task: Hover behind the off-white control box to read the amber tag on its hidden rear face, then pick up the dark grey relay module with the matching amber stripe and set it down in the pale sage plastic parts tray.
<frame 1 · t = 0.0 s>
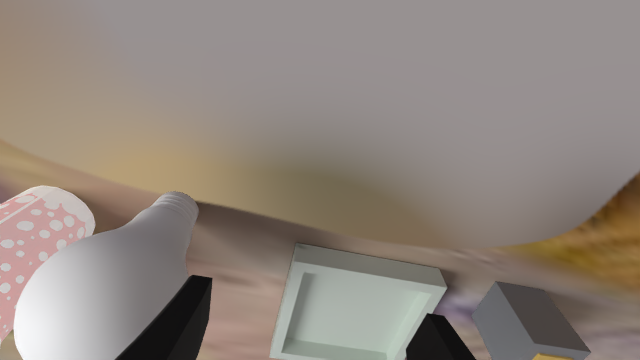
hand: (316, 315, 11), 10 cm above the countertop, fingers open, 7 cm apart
parts tray: (349, 305, 25), on the countertop
lightbulb: (184, 199, 21), on the countertop
beverage cup: (60, 213, 21), on the countertop
relay module: (506, 302, 25), on the countertop
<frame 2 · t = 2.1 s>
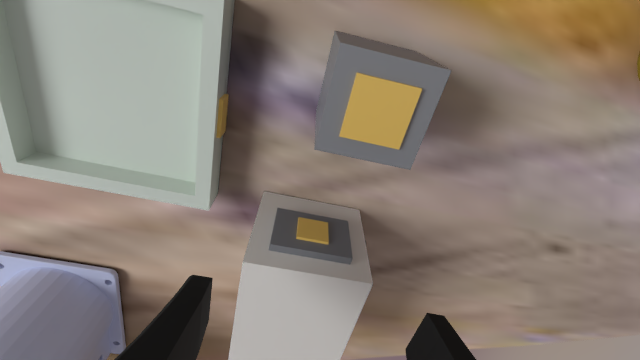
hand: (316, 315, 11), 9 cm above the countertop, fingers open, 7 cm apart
parts tray: (120, 87, 16), on the countertop
control box: (298, 254, 22), on the countertop
relay module: (363, 82, 16), on the countertop
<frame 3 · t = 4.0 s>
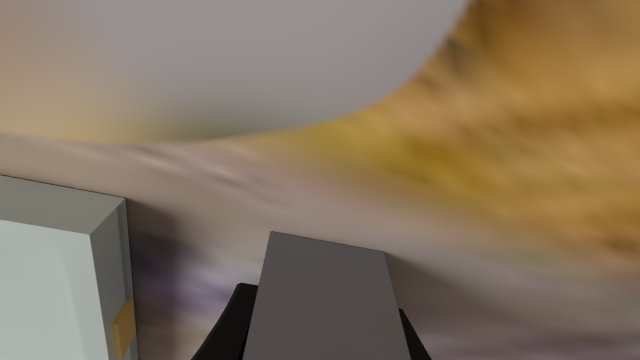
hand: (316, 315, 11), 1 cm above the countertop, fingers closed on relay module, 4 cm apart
relay module: (315, 282, 12), on the countertop, touching gripper
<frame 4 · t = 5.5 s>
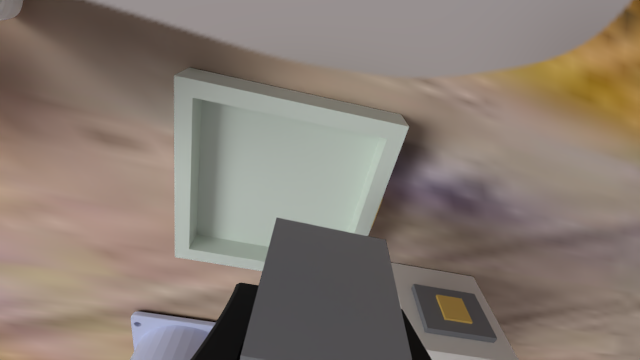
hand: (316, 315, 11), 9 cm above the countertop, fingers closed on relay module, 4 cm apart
parts tray: (281, 182, 18), on the countertop
control box: (408, 312, 24), on the countertop
relay module: (319, 268, 12), point 7 cm above the countertop, touching gripper
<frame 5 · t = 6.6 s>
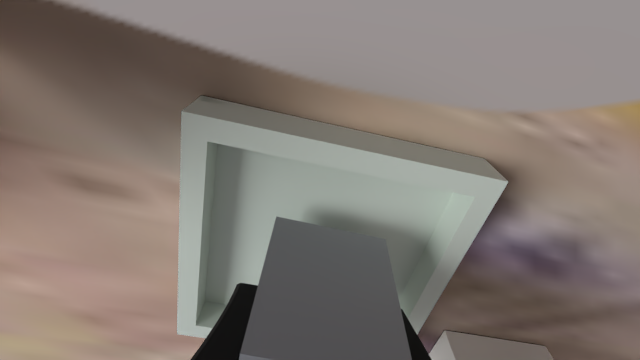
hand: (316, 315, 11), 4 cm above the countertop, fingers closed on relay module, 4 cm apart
parts tray: (317, 239, 14), on the countertop
relay module: (319, 267, 12), point 2 cm above the countertop, touching gripper
when the fingers open (3 cm above the countertop, at t = 7.3 s): relay module stays where it is, resting on parts tray.
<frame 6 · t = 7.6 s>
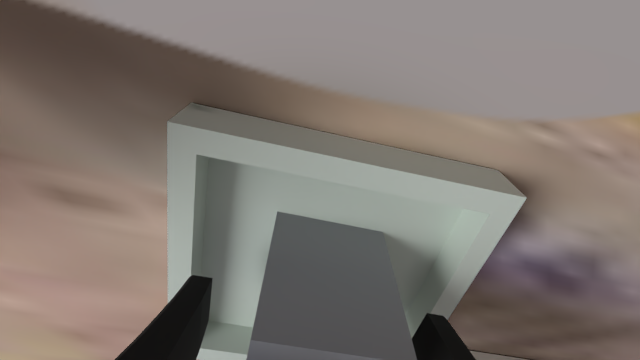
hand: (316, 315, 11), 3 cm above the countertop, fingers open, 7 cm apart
parts tray: (317, 255, 13), on the countertop
relay module: (318, 261, 13), resting on parts tray
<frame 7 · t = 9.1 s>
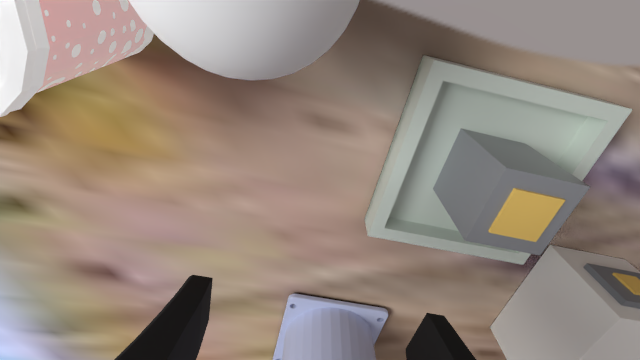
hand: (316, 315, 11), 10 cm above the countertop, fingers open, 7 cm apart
parts tray: (472, 165, 19), on the countertop
control box: (552, 295, 25), on the countertop
beverage cup: (111, 6, 16), on the countertop
relay module: (477, 167, 19), resting on parts tray
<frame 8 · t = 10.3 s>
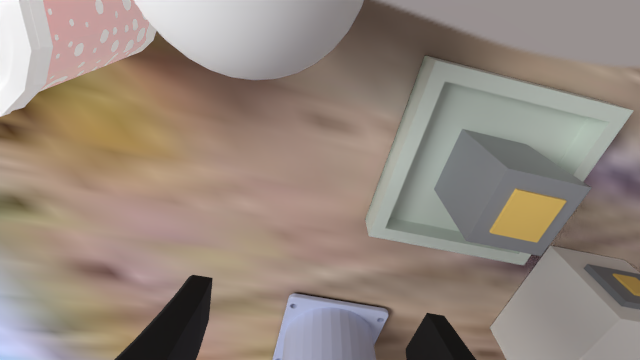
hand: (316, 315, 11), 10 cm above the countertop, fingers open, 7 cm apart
parts tray: (473, 166, 20), on the countertop
control box: (552, 296, 25), on the countertop
beverage cup: (113, 5, 16), on the countertop
relay module: (478, 167, 19), resting on parts tray
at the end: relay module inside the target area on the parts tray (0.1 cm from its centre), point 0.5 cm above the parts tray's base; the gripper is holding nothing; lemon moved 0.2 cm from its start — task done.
